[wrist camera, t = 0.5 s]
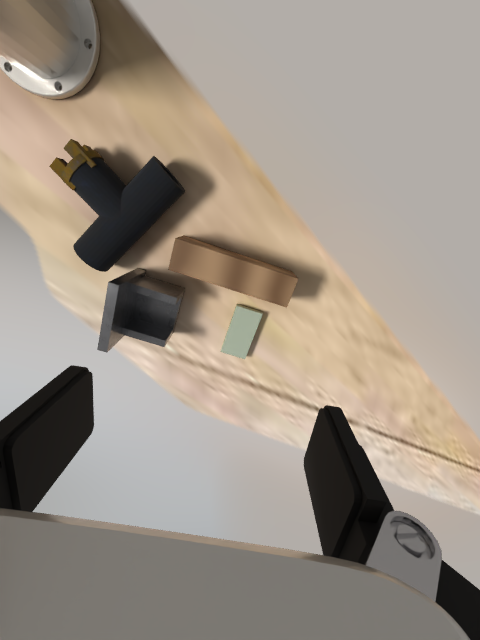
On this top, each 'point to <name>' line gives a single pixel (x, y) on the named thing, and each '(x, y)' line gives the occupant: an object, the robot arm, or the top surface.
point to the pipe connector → (115, 202)
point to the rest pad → (241, 331)
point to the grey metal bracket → (139, 310)
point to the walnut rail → (232, 270)
